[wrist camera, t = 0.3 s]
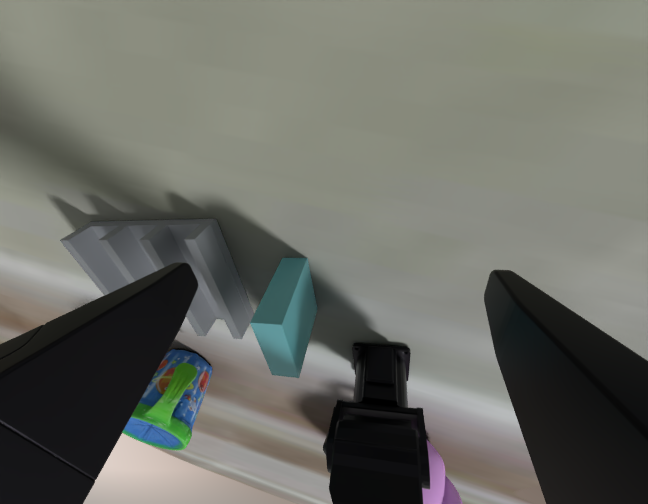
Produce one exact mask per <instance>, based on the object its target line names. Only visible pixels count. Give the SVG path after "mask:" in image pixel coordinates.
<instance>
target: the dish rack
mask: <svg viewBox="0 0 648 504" xmlns="http://www.w3.org/2000/svg"><path fill="white" fill-rule="evenodd" d="M60 241H61V242H62V244H63V245H64V246H65V247H66V249H67V250H68V251H69V252H70V254H71V255H72V256H73V257H74V258H75V260H76V261H77V262H78V263H79V265H80V266H81V267H82V268H83V270H84V271H85V272H86V273H87V274H88V276H89V277H90V278H91V279H92V281H93V282H94V283H95V284H96V286H97V287H98V288H99V289H100V290H101V292H102V293H103V294H104V295H107V294H109V293H111V292H113V291H115V290H117V289H119V288H122V287H124V286H126V285H128V284H130V283H132V282H134V281H136V280H138V279H141V278H143V277H145V276H147V275H149V274H151V273H153V272H155V271H158V270H160V269H162V268H164V267H166V266H168V265H170V264H172V263H175V262H186V263H188V264H189V265H190V266H191V268H192V270H193V272H194V274H195V276H196V278H197V280H198V289H197V292H196V294H195V296H194V298H193V301H192V303H191V305H190V307H189V310H188V312H187V314H186V317H187V319H188V320H189V322H190V324H191V325H192V327H193V328H194V330H195V332H196V333H197V335H198V336H206V335H207V333H208V331H209V330H210V328H211V327H212V325H213V323H214V322H215V320H216V319H224V320H225V322H226V324H227V326H228V328H229V330H230V332H231V334H232V336H233V338H235V339H242V338H243V336H244V334H245V332H246V330H247V328H248V326H249V324H250V322H251V320H252V318H253V316H254V312H253V310H252V307H251V305H250V302H249V300H248V297H247V295H246V292H245V290H244V287H243V285H242V282H241V280H240V277H239V275H238V272H237V270H236V267H235V265H234V262H233V260H232V257H231V255H230V252H229V250H228V247H227V245H226V242H225V240H224V237H223V235H222V232H221V230H220V227H219V225H218V222H217V220H216V219H177V220H137V221H97V222H90V223H88V224H86V225H85V226H83V227H82V228H80V229H78V230H76V231H75V232H73V233H71V234H70V235H68V236H66V237H65V238H63V239H61V240H60Z"/></svg>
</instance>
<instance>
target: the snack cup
mask: <svg viewBox="0 0 648 504" xmlns="http://www.w3.org/2000/svg"><path fill="white" fill-rule="evenodd" d="M211 374H212V366H210V365H209V364H208V363H207V362H206V361H205V360H204V359H203V358H201V357H200V356H198V354H196V353H192V352H189V351H185V350H175V349H173V350H171V351H169V352H167V353H166V355H165V357H164V359H163V360H162V362H161V364H160V366H159V368H158V369H157V371H156V373H155V375H154V376H153V378H152V380H151V382H150V384H149V385H148V387H147V389H146V391H145V393H144V394H143V396H142V398H141V400H140V402H139V403H138V405H137V407H136V409H135V411H134V412H133V414H132V416H131V418H130V419H129V421H128V423H127V425H126V427H125V428H124V430H123V432H122V433H124V434H126V435H128V436H130V437H132V438H134V439H136V440H138V441H141V442H143V443H146V444H149V445H152V446H156V447H159V448H163V449H169V450H183V449H185V448H186V446H187V444H188V443H189V441H190V439H191V436H192V427H193V424H194V421H195V419H196V417H197V414H198V411H199V409H200V406H201V403H202V400H203V398H204V394H205V392H206V390H207V386H208V384H209V380H210V378H211Z"/></svg>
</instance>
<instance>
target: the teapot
mask: <svg viewBox="0 0 648 504" xmlns="http://www.w3.org/2000/svg"><path fill="white" fill-rule="evenodd" d="M427 446H428V456H429V468H430V490H429V489H423V488H422V493H423V504H462V500H461V498H460V496H459V493H458V492H457V490H456V488H455V487H454V485H453V484H452V483H451V481H450V480H449V479H448V478H447V477H446V476H445V467H444V463H443V460H442V458H441V456H440V455H439V453H438V452H437V451H436V449H435V448H434V447H433V446H432V445H431V444H430V442H429V441H428V440H427Z"/></svg>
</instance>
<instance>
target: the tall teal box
mask: <svg viewBox="0 0 648 504" xmlns="http://www.w3.org/2000/svg"><path fill="white" fill-rule="evenodd" d="M316 313H317V304H316V299H315V294H314V289H313V284H312V279H311V274H310V269H309V264H308V259H307V258H282V260H281V262H280V264H279V266H278V268H277V270H276V272H275V274H274V276H273V278H272V280H271V282H270V284H269V286H268V288H267V290H266V292H265V294H264V296H263V298H262V300H261V302H260V304H259V306H258V308H257V310H256V312H255V314H254V316H253V318H252V320H251V322H250V324H251V326H252V328H253V331H254V333H255V335H256V338H257V340H258V343H259V345H260V347H261V350H262V352H263V354H264V357H265V359H266V361H267V364H268V366H269V369H270V371H271V373H272V375H278V376H287V377H296V378H299V376H300V373H301V369H302V365H303V361H304V358H305V354H306V350H307V346H308V343H309V339H310V335H311V331H312V328H313V324H314V320H315V317H316Z"/></svg>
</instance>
